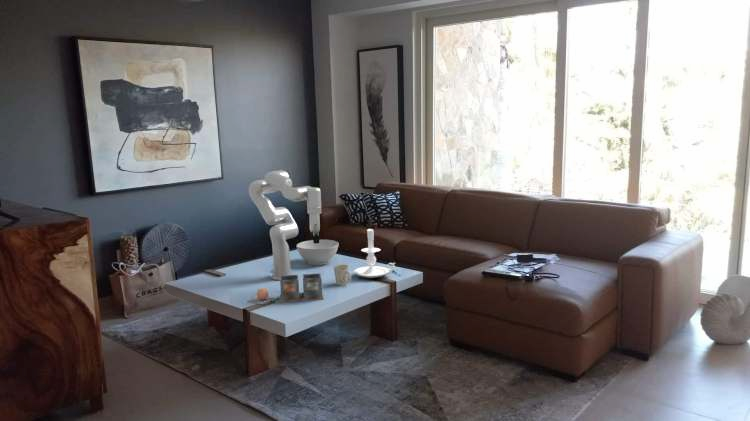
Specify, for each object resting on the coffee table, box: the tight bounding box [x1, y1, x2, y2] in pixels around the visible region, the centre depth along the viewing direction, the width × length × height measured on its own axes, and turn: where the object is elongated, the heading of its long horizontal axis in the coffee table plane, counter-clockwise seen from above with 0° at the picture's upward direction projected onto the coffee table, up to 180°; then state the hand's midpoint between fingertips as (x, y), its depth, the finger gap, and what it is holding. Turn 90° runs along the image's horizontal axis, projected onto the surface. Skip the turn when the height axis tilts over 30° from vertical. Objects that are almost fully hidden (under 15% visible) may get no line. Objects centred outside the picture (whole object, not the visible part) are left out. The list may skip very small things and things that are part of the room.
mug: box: [333, 263, 352, 286], centre depth 327 cm, size 8×13×10 cm, turn 44°
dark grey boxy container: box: [279, 272, 324, 303], centre depth 305 cm, size 22×11×11 cm, turn 99°
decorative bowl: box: [296, 239, 339, 266], centre depth 376 cm, size 27×27×12 cm
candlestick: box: [353, 228, 396, 279], centre depth 340 cm, size 21×25×28 cm
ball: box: [256, 287, 269, 300], centre depth 303 cm, size 6×6×6 cm
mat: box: [247, 295, 279, 305], centre depth 303 cm, size 11×11×1 cm
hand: (315, 241), depth 323 cm, fingers open, 9 cm apart
